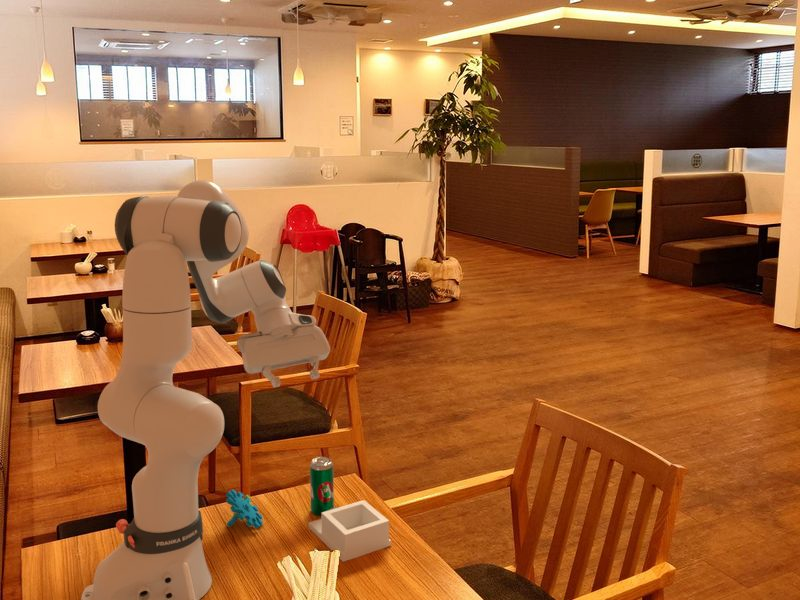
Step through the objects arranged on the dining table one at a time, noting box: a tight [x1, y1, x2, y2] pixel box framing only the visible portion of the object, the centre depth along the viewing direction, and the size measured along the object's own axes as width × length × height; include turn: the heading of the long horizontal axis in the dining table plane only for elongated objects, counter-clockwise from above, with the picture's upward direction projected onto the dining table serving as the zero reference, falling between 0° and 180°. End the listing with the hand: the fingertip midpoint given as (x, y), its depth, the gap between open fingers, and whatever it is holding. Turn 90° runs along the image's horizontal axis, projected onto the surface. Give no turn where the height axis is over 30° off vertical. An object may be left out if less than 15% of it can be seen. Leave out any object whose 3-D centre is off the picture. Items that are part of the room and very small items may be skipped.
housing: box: [308, 499, 392, 563], centre depth 158 cm, size 11×15×6 cm
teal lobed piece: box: [225, 489, 264, 529], centre depth 162 cm, size 11×6×10 cm
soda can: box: [309, 456, 335, 517], centre depth 167 cm, size 5×5×12 cm
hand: (296, 381), depth 172 cm, fingers open, 8 cm apart
